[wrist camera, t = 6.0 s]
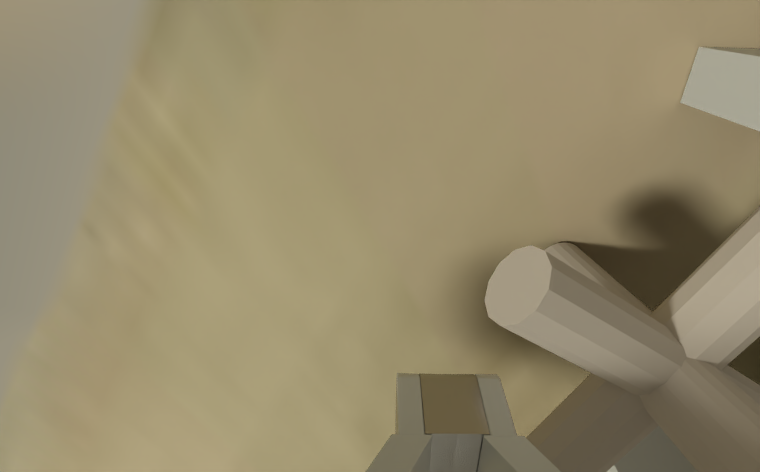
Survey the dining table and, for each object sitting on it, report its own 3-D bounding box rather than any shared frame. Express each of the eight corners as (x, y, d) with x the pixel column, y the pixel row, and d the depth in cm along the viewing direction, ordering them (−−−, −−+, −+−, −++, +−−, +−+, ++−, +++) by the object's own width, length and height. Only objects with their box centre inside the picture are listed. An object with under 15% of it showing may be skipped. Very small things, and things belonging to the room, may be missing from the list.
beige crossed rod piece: (555, 50, 12) (1202, 144, 3) (749, 217, 16) (1318, 480, 7) (360, 315, 15) (429, 734, 6) (559, 406, 19) (783, 758, 10)
